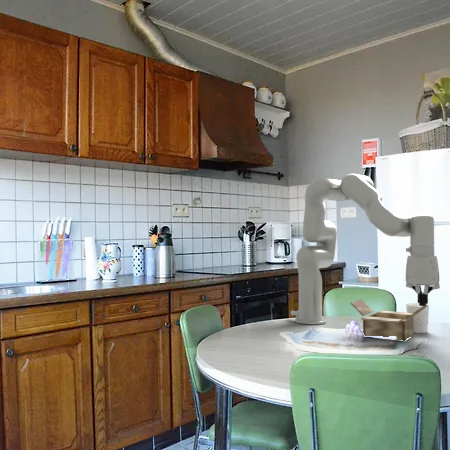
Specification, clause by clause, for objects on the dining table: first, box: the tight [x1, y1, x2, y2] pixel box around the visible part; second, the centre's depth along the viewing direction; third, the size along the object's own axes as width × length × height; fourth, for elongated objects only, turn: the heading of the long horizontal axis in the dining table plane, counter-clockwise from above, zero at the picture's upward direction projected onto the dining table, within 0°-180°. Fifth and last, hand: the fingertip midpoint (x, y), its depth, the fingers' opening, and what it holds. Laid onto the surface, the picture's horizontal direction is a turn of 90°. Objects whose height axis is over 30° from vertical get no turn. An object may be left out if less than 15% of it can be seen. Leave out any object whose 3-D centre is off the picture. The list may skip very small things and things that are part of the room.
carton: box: [360, 310, 415, 341], centre depth 166 cm, size 14×22×8 cm, turn 145°
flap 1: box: [350, 299, 374, 317], centre depth 172 cm, size 1×11×6 cm
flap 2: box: [406, 304, 428, 320], centre depth 161 cm, size 1×11×6 cm
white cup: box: [405, 302, 430, 334], centre depth 177 cm, size 8×8×10 cm
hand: (422, 305), depth 160 cm, fingers closed
